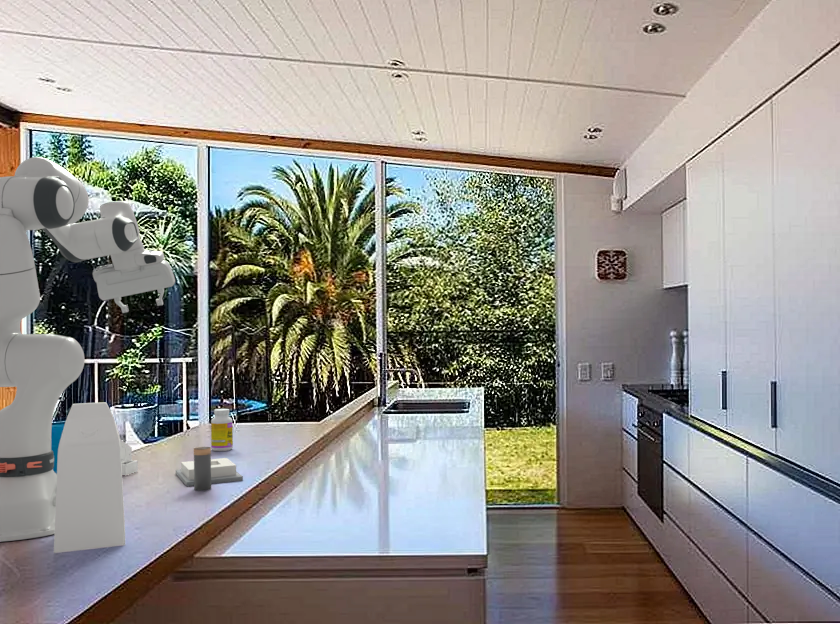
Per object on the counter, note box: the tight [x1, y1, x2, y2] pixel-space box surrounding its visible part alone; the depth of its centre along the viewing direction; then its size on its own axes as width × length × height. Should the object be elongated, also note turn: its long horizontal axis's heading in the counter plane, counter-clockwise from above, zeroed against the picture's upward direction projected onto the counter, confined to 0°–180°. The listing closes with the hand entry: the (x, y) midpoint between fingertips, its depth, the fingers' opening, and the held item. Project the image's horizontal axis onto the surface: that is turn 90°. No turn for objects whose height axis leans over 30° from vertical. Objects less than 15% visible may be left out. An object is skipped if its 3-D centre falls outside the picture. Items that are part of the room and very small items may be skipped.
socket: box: [175, 457, 244, 487], centre depth 204 cm, size 18×14×4 cm
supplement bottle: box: [210, 408, 234, 452], centre depth 246 cm, size 7×7×13 cm
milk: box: [53, 401, 126, 554], centre depth 146 cm, size 12×12×26 cm
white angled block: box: [120, 439, 139, 476], centre depth 209 cm, size 4×10×9 cm, turn 168°
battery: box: [193, 446, 212, 492], centre depth 189 cm, size 4×4×10 cm
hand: (143, 308), depth 213 cm, fingers open, 8 cm apart
